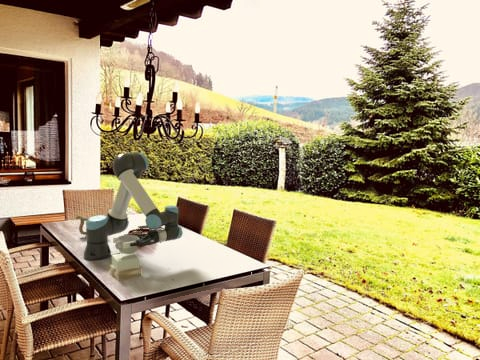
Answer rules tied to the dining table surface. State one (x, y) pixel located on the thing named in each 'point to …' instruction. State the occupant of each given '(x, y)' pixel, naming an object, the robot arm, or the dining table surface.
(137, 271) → the tower base
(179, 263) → the dining table surface
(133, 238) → the teacup
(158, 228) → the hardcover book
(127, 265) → the tower top
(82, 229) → the tankard
